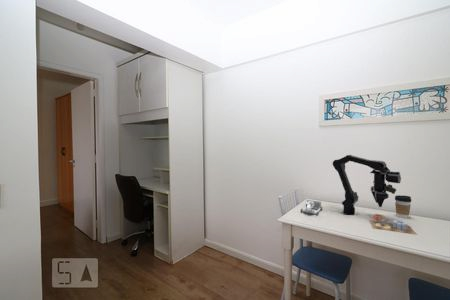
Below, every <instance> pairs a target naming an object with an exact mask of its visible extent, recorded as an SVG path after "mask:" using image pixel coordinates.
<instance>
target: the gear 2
mask: <svg viewBox="0 0 450 300" xmlns="http://www.w3.org/2000/svg"><path fill="white" fill-rule="evenodd" d="M398 221H402V223H398ZM392 223H393V228H395V229H398V230H402V231H406V230H407V225H408V222H406V221H403V220H398V219H394V220H393V221H392Z"/></svg>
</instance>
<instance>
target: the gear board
mask: <svg viewBox="0 0 450 300" xmlns="http://www.w3.org/2000/svg"><path fill="white" fill-rule="evenodd" d="M385 219H386V218H385ZM385 219H381V221H379V220H369V219H368V222H369V224H370V226H371V228H372V229H375V230H381V231H388V232H393V233H401V234H407V235H408V234H409V235H415V236H418V233H417V232H416V231H415V230H414V229H413V228H412V226H410V225H408V224H407V230H406V231H402V230H398V229H395V228H393V222H392V223H391V222H385V221H386V220H385ZM402 221H403V220H400V221H399V220H398V223H402Z"/></svg>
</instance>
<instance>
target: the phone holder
mask: <svg viewBox="0 0 450 300" xmlns="http://www.w3.org/2000/svg"><path fill="white" fill-rule="evenodd" d="M320 211H321V212H322V211H323V206H322V200H321V201H320V200H314V199H310V198H309V199H308V198H307V199H306V203H305V207H304V208H300V213H307V214H313V215H315V216H316V217H317V216H319V212H320Z"/></svg>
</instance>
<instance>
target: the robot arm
mask: <svg viewBox="0 0 450 300" xmlns="http://www.w3.org/2000/svg"><path fill="white" fill-rule="evenodd" d="M349 162H353V163H355V164H360V165H364V166H367V167H369V168H370V169H372V171H370V174H373V182H372V183H373V186H370V191H371V192H370V193H371V195H372V197H373V199H374V200H375V203H376V204H377V205H378V207H379V208H382V207H383V204H384V201H385V200H387V199H389V197H390V196H389V193H391V194H392V195H395V193H396V191H397V189H396V188H395V187H393V185H392V184H393V183H394V184H401V181H402V177H401V171H391V170H390V169H389V168H388V167H387V163H386V162H385V161H384V160H377V159H376V160H373V159H366V158H363V157H359V156H356V155H352V154H348V155H345V156H344V157H343V156H342V157H341V158H339V159H334V160H332V166H333V168H334V169H335V171H336V172H337V173H338V176H339V178H340V182H341V184H342V186H343V189H344V200H343V201H342V202H341V204H342V206H343V208H342V209H343V210H342V213H343V215H350V216H355V214H356V208H355V204H356V203H357V202H358V201H359V195H358V192H357V191H354V190H353V188H352V184H351V183H350V181H349V177H348V174H347V172H346V164H347V163H349ZM386 182H388V183H392V184H386ZM388 192H389V193H388Z"/></svg>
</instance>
